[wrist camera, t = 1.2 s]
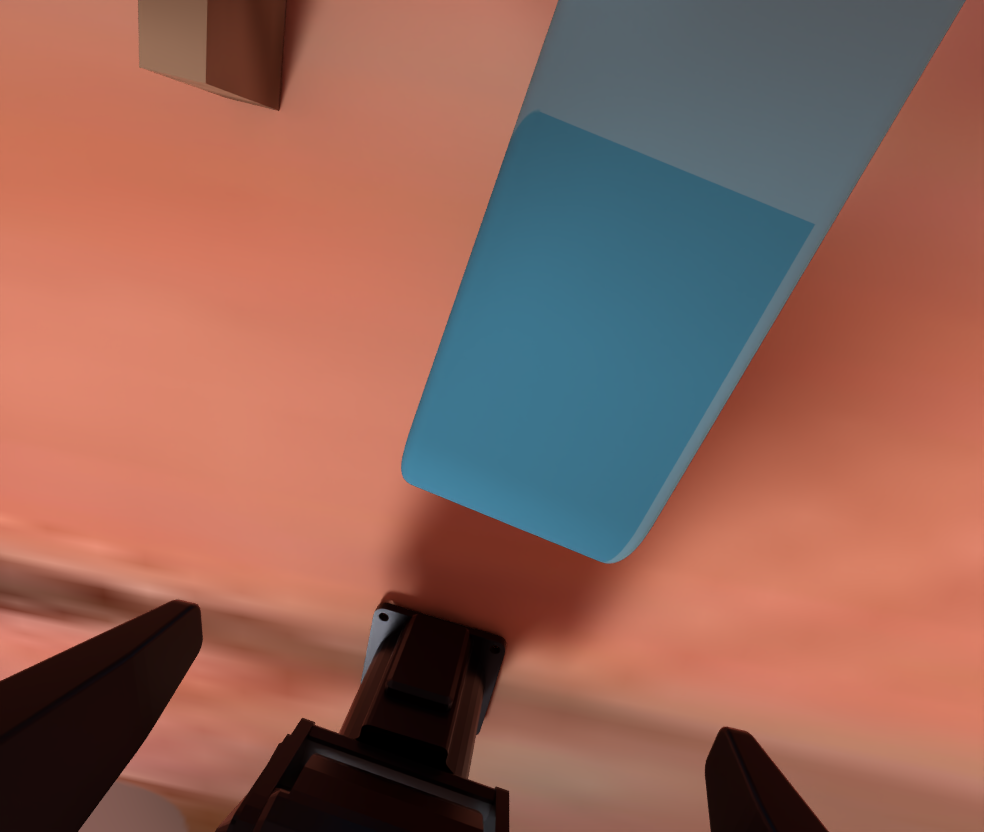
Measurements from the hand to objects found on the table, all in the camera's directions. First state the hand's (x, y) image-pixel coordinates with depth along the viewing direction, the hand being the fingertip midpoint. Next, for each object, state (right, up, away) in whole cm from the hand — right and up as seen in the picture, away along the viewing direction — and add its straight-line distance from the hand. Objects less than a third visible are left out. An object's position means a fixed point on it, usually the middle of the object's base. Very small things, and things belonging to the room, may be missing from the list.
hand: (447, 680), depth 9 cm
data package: (+5, +11, +10) cm, 16 cm away
